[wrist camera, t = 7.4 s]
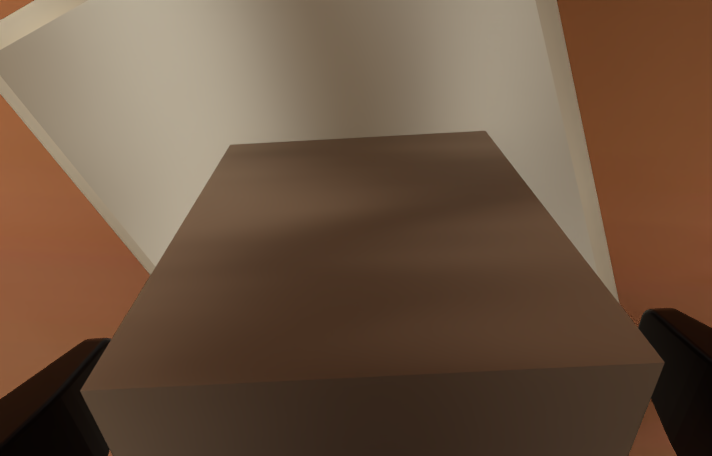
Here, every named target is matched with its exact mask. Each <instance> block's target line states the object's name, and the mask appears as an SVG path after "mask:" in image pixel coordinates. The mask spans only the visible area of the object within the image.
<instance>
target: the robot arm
mask: <svg viewBox="0 0 712 456" xmlns="http://www.w3.org/2000/svg"><path fill="white" fill-rule="evenodd" d="M638 329H639V330H640V331H641V332H642V334H643V335H644V336H645V338H646V339H647V340H648V342H649V343H650V344H651V345H652V347H653V348H654V349H655V351H656V352H657V353H658V354H659V356H660V357H661V358H662V360H663V361H664V362H665V363H664V366H663V368H662V371H661V373H660V376H659V378H658V381H657V384H656V386H655V389H654V391H653V394H652V396H651V399H652V402H653V404H654V406H655V409H656V411H657V413H658V416H659V418H660V420H661V423H662V425H663V427H664V430H665V432H666V434H667V436H668V438H669V440H670V443H671V445H672V447H673V449H674V450H675V452H676V454H677V456H712V328H711V327H709V326H707V325H705V324H703V323H701V322H699V321H697V320H695V319H693V318H692V317H690V316H688V315H686V314H684V313H682V312H680V311H678V310H676V309H673V308H657V309H649V310H646V311H645V312H644V313H643V315H642V318H641V321H640V324H639V327H638ZM110 341H111V339H110V338H95V339H87V340H84V341H83V342H81V343H80V344H78V345H77V346H75V347H74V348H73V349H71V350H70V351H68V352H67V353H65V354H64V355H63V356H61V357H60V358H58V359H57V360H55V361H54V362H53V363H51V364H50V365H48V366H47V367H46V368H44V369H43V370H41V371H40V372H38V373H37V374H36V375H34V376H33V377H31V378H30V379H28V380H27V381H26V382H24V383H23V384H21V385H20V386H18V387H17V388H16V389H14V390H13V391H11V392H10V393H8V394H7V395H6V396H4V397H3V398H1V399H0V456H108V453H109V450H110V449H109V447H108V445H107V443H106V441H105V439H104V437H103V435H102V433H101V431H100V429H99V427H98V425H97V423H96V421H95V419H94V417H93V415H92V414H91V412H90V410H89V408H88V406H87V404H86V402H85V400H84V398H83V396H82V394H81V392H80V390H81V388H82V387H83V385H84V384H85V382H86V380H87V379H88V377H89V375H90V374H91V372H92V370H93V369H94V367H95V365H96V364H97V362H98V361H99V359H100V357H101V356H102V354H103V352H104V351H105V349H106V347H107V346H108V344H109V343H110Z"/></svg>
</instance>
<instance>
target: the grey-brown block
mask: <svg viewBox="0 0 712 456" xmlns="http://www.w3.org/2000/svg"><path fill="white" fill-rule="evenodd" d="M664 363H665V362H664V361H663V360H662V358H661V357H660V356H659V354H658V353H657V352H656V351H655V349H654V348H653V347H652V345H651V344H650V343H649V342H648V340H647V339H646V338H645V336H644V335H643V334H642V332H641V331H640V330H639V329H638V327H637V326H636V325H635V323H634V322H633V321H632V320H631V318H630V317H629V316H628V314H627V313H626V312H625V310H624V309H623V308H622V307H621V305H620V304H619V303H618V301H617V300H616V299H615V298H614V296H613V295H612V294H611V292H610V291H609V290H608V288H607V287H606V286H605V285H604V283H603V282H602V281H601V279H600V278H599V277H598V276H597V274H596V273H595V272H594V270H593V269H592V268H591V267H590V265H589V264H588V263H587V261H586V260H585V259H584V257H583V256H582V255H581V254H580V252H579V251H578V250H577V248H576V247H575V246H574V245H573V243H572V242H571V241H570V239H569V238H568V237H567V235H566V234H565V233H564V232H563V230H562V229H561V228H560V226H559V225H558V224H557V223H556V221H555V220H554V219H553V217H552V216H551V215H550V214H549V212H548V211H547V210H546V208H545V207H544V206H543V204H542V203H541V202H540V201H539V199H538V198H537V197H536V195H535V194H534V193H533V192H532V190H531V189H530V188H529V186H528V185H527V184H526V182H525V181H524V180H523V179H522V177H521V176H520V175H519V173H518V172H517V171H516V170H515V168H514V167H513V166H512V164H511V163H510V162H509V160H508V159H507V158H506V157H505V155H504V154H503V153H502V151H501V150H500V149H499V148H498V146H497V145H496V144H495V142H494V141H493V140H492V139H491V137H490V136H489V135H488V133H487V132H486V131H471V132H452V133H434V134H416V135H398V136H380V137H362V138H343V139H325V140H307V141H289V142H271V143H252V144H234V145H230V146H229V147H228V149H227V151H226V152H225V154H224V156H223V157H222V159H221V160H220V162H219V164H218V165H217V167H216V169H215V170H214V172H213V174H212V175H211V177H210V179H209V180H208V182H207V183H206V185H205V187H204V188H203V190H202V192H201V193H200V195H199V197H198V198H197V200H196V201H195V203H194V205H193V206H192V208H191V210H190V211H189V213H188V215H187V216H186V218H185V220H184V221H183V223H182V224H181V226H180V228H179V229H178V231H177V233H176V234H175V236H174V238H173V239H172V241H171V242H170V244H169V246H168V247H167V249H166V251H165V252H164V254H163V256H162V257H161V259H160V261H159V262H158V264H157V265H156V267H155V269H154V270H153V272H152V274H151V275H150V277H149V279H148V280H147V282H146V283H145V285H144V287H143V288H142V290H141V292H140V293H139V295H138V297H137V298H136V300H135V302H134V303H133V305H132V306H131V308H130V310H129V311H128V313H127V315H126V316H125V318H124V320H123V321H122V323H121V324H120V326H119V328H118V329H117V331H116V333H115V334H114V336H113V338H112V339H111V341H110V343H109V344H108V346H107V347H106V349H105V351H104V352H103V354H102V356H101V357H100V359H99V361H98V362H97V364H96V365H95V367H94V369H93V370H92V372H91V374H90V375H89V377H88V379H87V380H86V382H85V384H84V385H83V387H82V388H81V390H80V392H81V394H82V396H83V398H84V400H85V402H86V404H87V406H88V408H89V410H90V412H91V414H92V415H93V417H94V419H95V421H96V423H97V425H98V427H99V429H100V431H101V433H102V435H103V437H104V439H105V441H106V443H107V445H108V447H109V449H110V451H111V453H112V455H113V456H628V455H629V452H630V450H631V447H632V445H633V442H634V440H635V437H636V435H637V432H638V429H639V427H640V424H641V422H642V419H643V417H644V414H645V412H646V409H647V407H648V404H649V401H650V399H651V396H652V394H653V391H654V389H655V386H656V384H657V381H658V378H659V376H660V373H661V371H662V368H663V366H664Z"/></svg>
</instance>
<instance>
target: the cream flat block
mask: <svg viewBox="0 0 712 456" xmlns="http://www.w3.org/2000/svg"><path fill="white" fill-rule="evenodd" d="M0 94H1V95H2V96H3V98H4V99H5V100H6V101H7V102H8V104H9V105H10V106H11V107H12V108H13V110H14V111H15V112H16V113H17V114H18V116H19V117H20V118H21V119H22V120H23V122H24V123H25V124H26V125H27V127H28V128H29V129H30V130H31V131H32V133H33V134H34V135H35V136H36V137H37V139H38V140H39V141H40V142H41V143H42V145H43V146H44V147H45V148H46V149H47V151H48V152H49V153H50V154H51V156H52V157H53V158H54V159H55V160H56V162H57V163H58V164H59V165H60V166H61V168H62V169H63V170H64V171H65V172H66V174H67V175H68V176H69V177H70V178H71V180H72V181H73V182H74V183H75V184H76V186H77V187H78V188H79V189H80V191H81V192H82V193H83V194H84V195H85V197H86V198H87V199H88V200H89V201H90V203H91V204H92V205H93V206H94V207H95V209H96V210H97V211H98V212H99V213H100V215H101V216H102V217H103V218H104V220H105V221H106V222H107V223H108V224H109V226H110V227H111V228H112V229H113V230H114V232H115V233H116V234H117V235H118V236H119V238H120V239H121V240H122V241H123V242H124V244H125V245H126V246H127V247H128V249H129V250H130V251H131V252H132V253H133V255H134V256H135V257H136V258H137V259H138V261H139V262H140V263H141V264H142V265H143V267H144V268H145V269H146V270H147V271H148V273H149V274H150V275H151V274H152V272H153V270H154V269H155V267H156V265H157V264H158V262H159V261H160V259H161V257H162V256H163V254H164V252H165V251H166V249H167V247H168V246H169V244H170V242H171V241H172V239H173V238H174V236H175V234H176V233H177V231H178V229H179V228H180V226H181V224H182V223H183V221H184V220H185V218H186V216H187V215H188V213H189V211H190V210H191V208H192V206H193V205H194V203H195V201H196V200H197V198H198V197H199V195H200V193H201V192H202V190H203V188H204V187H205V185H206V183H207V182H208V180H209V179H210V177H211V175H212V174H213V172H214V170H215V169H216V167H217V165H218V164H219V162H220V160H221V159H222V157H223V156H224V154H225V152H226V151H227V149H228V147H229V146H230V145H234V144H252V143H271V142H289V141H307V140H325V139H343V138H362V137H380V136H398V135H416V134H434V133H452V132H471V131H486V132H487V133H488V135H489V136H490V137H491V139H492V140H493V141H494V142H495V144H496V145H497V146H498V148H499V149H500V150H501V151H502V153H503V154H504V155H505V157H506V158H507V159H508V160H509V162H510V163H511V164H512V166H513V167H514V168H515V170H516V171H517V172H518V173H519V175H520V176H521V177H522V179H523V180H524V181H525V182H526V184H527V185H528V186H529V188H530V189H531V190H532V192H533V193H534V194H535V195H536V197H537V198H538V199H539V201H540V202H541V203H542V204H543V206H544V207H545V208H546V210H547V211H548V212H549V214H550V215H551V216H552V217H553V219H554V220H555V221H556V223H557V224H558V225H559V226H560V228H561V229H562V230H563V232H564V233H565V234H566V235H567V237H568V238H569V239H570V241H571V242H572V243H573V245H574V246H575V247H576V248H577V250H578V251H579V252H580V254H581V255H582V256H583V257H584V259H585V260H586V261H587V263H588V264H589V265H590V267H591V268H592V269H593V270H594V272H595V273H596V274H597V276H598V277H599V278H600V279H601V281H602V282H603V283H604V285H605V286H606V287H607V288H608V290H609V291H610V292H611V294H612V295H613V296H614V298H615V299H616V300H617V301H618V303H619V299H618V294H617V290H616V285H615V280H614V275H613V270H612V265H611V261H610V256H609V251H608V246H607V241H606V236H605V232H604V227H603V222H602V217H601V212H600V207H599V203H598V198H597V193H596V188H595V183H594V178H593V173H592V169H591V164H590V159H589V154H588V149H587V144H586V140H585V135H584V130H583V125H582V120H581V115H580V111H579V106H578V101H577V96H576V91H575V86H574V82H573V77H572V72H571V67H570V62H569V57H568V53H567V48H566V43H565V38H564V33H563V28H562V24H561V19H560V14H559V9H558V4H557V0H34V1H33V2H31V3H29V4H27V5H26V6H24V7H22V8H21V9H19V10H17V11H15V12H14V13H12V14H10V15H9V16H7V17H5V18H3V19H2V20H0Z"/></svg>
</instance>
